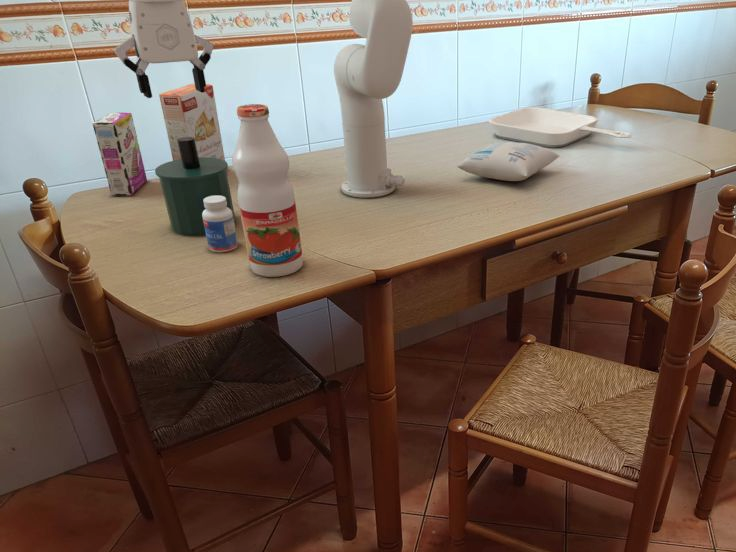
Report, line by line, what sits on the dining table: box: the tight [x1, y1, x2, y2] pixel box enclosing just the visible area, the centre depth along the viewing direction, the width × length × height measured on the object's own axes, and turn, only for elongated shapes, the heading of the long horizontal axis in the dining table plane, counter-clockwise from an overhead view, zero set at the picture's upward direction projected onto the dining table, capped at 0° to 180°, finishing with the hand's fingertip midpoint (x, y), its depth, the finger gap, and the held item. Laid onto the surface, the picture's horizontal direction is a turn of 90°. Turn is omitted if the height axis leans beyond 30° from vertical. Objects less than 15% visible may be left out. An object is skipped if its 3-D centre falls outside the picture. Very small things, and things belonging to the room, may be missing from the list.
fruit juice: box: [231, 103, 304, 278], centre depth 113 cm, size 9×9×28 cm
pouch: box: [455, 141, 561, 182], centre depth 165 cm, size 8×19×20 cm
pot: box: [158, 170, 236, 237], centre depth 135 cm, size 12×12×12 cm
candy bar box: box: [92, 112, 148, 197], centre depth 152 cm, size 11×5×16 cm, turn 5°
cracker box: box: [158, 83, 226, 161], centre depth 159 cm, size 14×6×21 cm, turn 168°
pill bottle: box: [202, 196, 238, 253], centre depth 125 cm, size 6×5×10 cm
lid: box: [154, 137, 229, 181], centre depth 130 cm, size 14×14×7 cm
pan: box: [488, 106, 633, 148], centre depth 197 cm, size 27×42×5 cm, turn 54°
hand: (174, 94), depth 125 cm, fingers open, 9 cm apart
